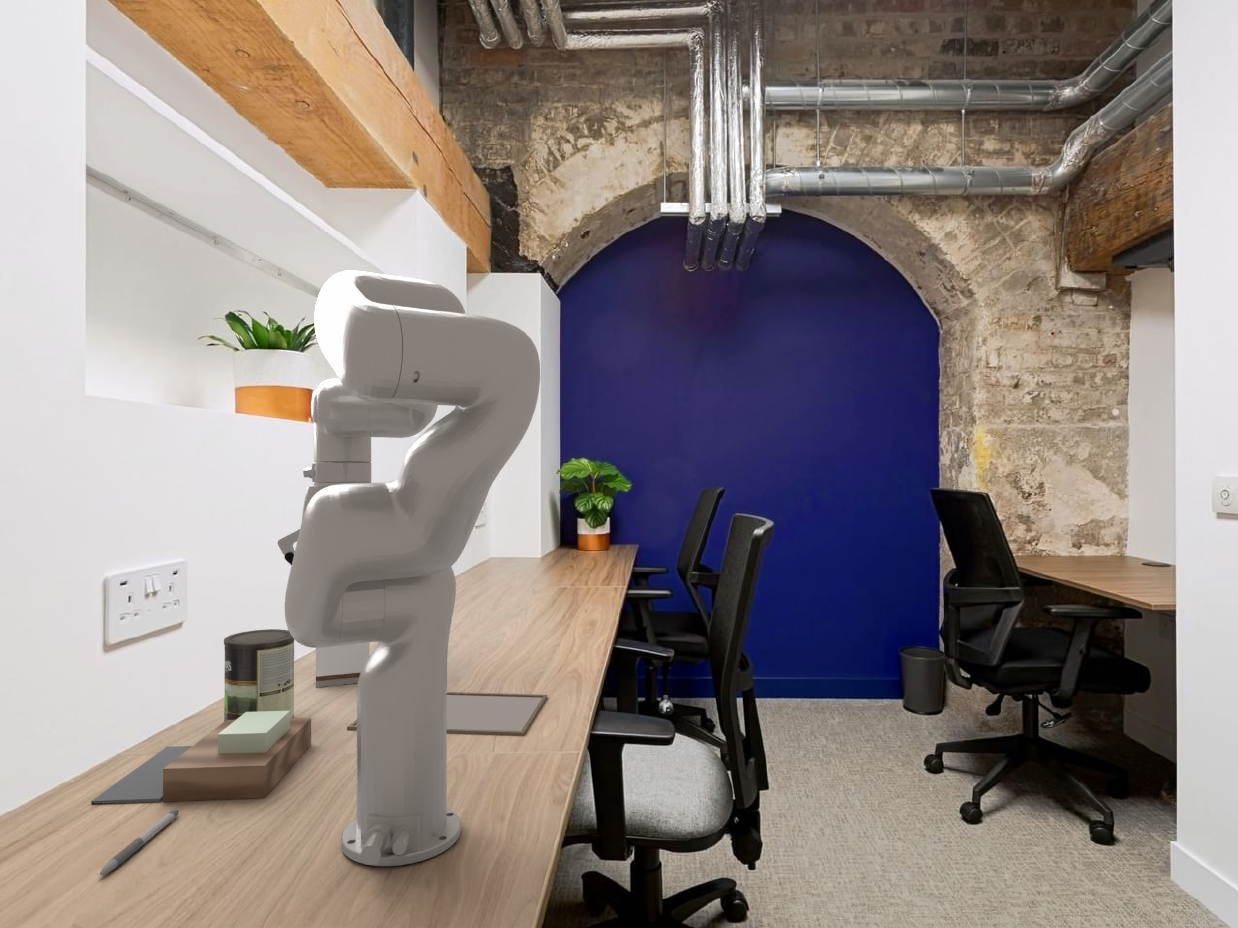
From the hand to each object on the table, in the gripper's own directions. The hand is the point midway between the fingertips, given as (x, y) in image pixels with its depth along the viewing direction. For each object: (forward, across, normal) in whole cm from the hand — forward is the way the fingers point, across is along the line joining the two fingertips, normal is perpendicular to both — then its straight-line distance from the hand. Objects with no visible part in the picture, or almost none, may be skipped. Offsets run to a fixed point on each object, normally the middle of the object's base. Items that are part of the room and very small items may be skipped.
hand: (343, 599), depth 105 cm
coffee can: (+22, -18, +17) cm, 34 cm away
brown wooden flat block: (+22, -13, -2) cm, 26 cm away
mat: (+22, -23, -2) cm, 32 cm away
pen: (+23, -15, -22) cm, 35 cm away
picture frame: (+23, +12, +21) cm, 33 cm away
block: (+18, -11, -2) cm, 22 cm away
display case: (+22, -13, +44) cm, 51 cm away
